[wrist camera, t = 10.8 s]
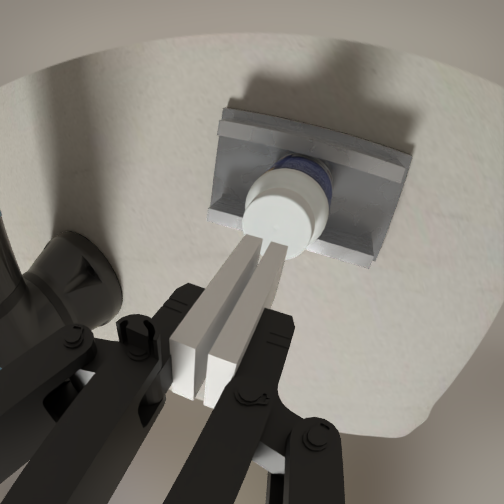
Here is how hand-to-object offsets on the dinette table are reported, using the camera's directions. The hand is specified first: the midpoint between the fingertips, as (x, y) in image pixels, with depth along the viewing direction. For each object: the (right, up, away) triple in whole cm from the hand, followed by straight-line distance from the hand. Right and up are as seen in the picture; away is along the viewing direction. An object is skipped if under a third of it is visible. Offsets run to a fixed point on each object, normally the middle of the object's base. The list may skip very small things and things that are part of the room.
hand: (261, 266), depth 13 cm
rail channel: (+4, +7, +12) cm, 14 cm away
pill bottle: (+4, +6, +12) cm, 14 cm away
